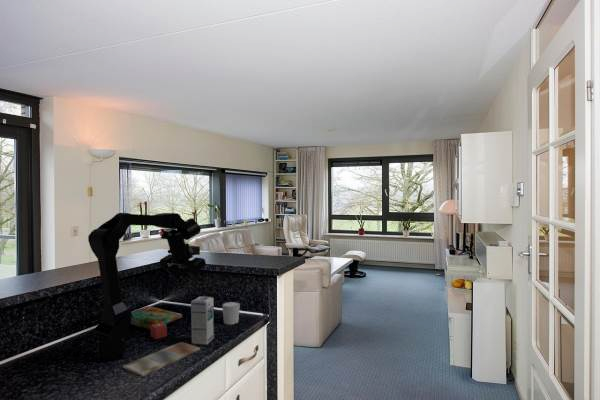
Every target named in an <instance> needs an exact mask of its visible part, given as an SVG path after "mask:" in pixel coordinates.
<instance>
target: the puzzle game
mask: <svg viewBox="0 0 600 400" xmlns="http://www.w3.org/2000/svg"><path fill="white" fill-rule="evenodd" d="M131 313H132V316H133V317H131V324H130V325H133V326H135V327H140V328H144V329H148V330H151V325H152V324H156V323H160V322H162V323H164V324H166V325H167V326H168V325H169V324H172V323H173V322H174V321H175V320H176V321H177V320H179V319H181V318H182V317H183V314H182V313H178V312H174V311H170V310H166V309H161V308H158V307H154V306H149V305H148V306H144V307H141V308H138V309H135V310H131Z"/></svg>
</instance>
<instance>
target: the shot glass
mask: <svg viewBox="0 0 600 400" xmlns="http://www.w3.org/2000/svg"><path fill="white" fill-rule="evenodd" d="M221 306H222V317H223V324H225V325H235V323H236V324H238V323H239V319H240V318H239V316H240V306H241V303H240V302H236V301H229V302H223V303H222V305H221Z"/></svg>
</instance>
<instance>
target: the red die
mask: <svg viewBox="0 0 600 400" xmlns="http://www.w3.org/2000/svg"><path fill="white" fill-rule="evenodd" d="M167 327H168V324H167V325H166V324H164V323H162V322H160V323H156V324H152V325H151V329H150V337H151V338H152V339H154V340H158V339H162V338H165V337H166V338H167V337H168V328H167Z"/></svg>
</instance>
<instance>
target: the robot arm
mask: <svg viewBox="0 0 600 400" xmlns="http://www.w3.org/2000/svg"><path fill="white" fill-rule="evenodd" d="M130 226H149V227H150V226H152V227H153V226H154V227H156V228H161V229H164V230H165V231H164V230H163V234H161V236H160V239H161V240H167V244H168V248H169V249H168V250H167V255H166V256H164V257H162V258H160V260H159V262H158V263H159V265H160V268H162V269H163V270H165V271H166V272H167V273H168V274H169V275H171V276H172V278H174V280H176V282H178V283H179V282H180V281H181V274H180V270H179V266H185V268H186V270H187V275H189V276H188V277H190V279H191V281H192V282H193V284H194V285H196V286H197V285H198V283H199V277H200V270H201V269H203V268H204V267H205V266H206V265H207V264H206V259H205V258H202V257H194V256H200V255H201V246H199V245H190V244H189V243H187V242H186V241H188V240H190V239H192V238H194V237H195V236H197V235H199V234H201V226H200V225H199V223H198V222H197V221H195V218H191V217H190V218H188V219H186V220H184V219H183V218H182V216H181V214H179V213H175V212H161V213H156V214H137V213H136V214H135V213H129V212H118V213H116V214H115V215H114V216H112V218H110V219H109V220H107V221H105V222H104V223H102V224H101V225H100V226H98V228H95V229H93V230H92V231H91V232H90V233H89V234H88V237H87V238H88V243H89V247H90V249H91V251H92V253H93V254H94V256H95V257H96V258H97V262H98V270H99V275H100V281H101V288H102V294H103V295H102V296H103V299H104V300H103V302H104V305H103V308H102V310H101V320H100V322H98V324H97V325H96V327H95V328H94V329H93V334H94V337H96V338H98V358H97V359H98V360H97V362H98V363H104V362H110V361H116V360H121V359H123V355H124V354H125V339H124V338H126V337H127V333H128V330H129V327H130V325H131V317H133V316H132V313H131V311H132V305H131V304H129V303H125V302H124V301H123V296H122V288H121V284H120V283H121V282H120V278H119V277H120V276H119V270H118V269H119V268H118V262H117V255H118V253H119V250H120V240H121V239H122V238H123V237H124V236H125V234H126V232H127V231H128V228H129V227H130ZM168 229H169V231H166V230H168ZM192 258H193V259H192ZM190 259H191V260H190Z"/></svg>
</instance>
